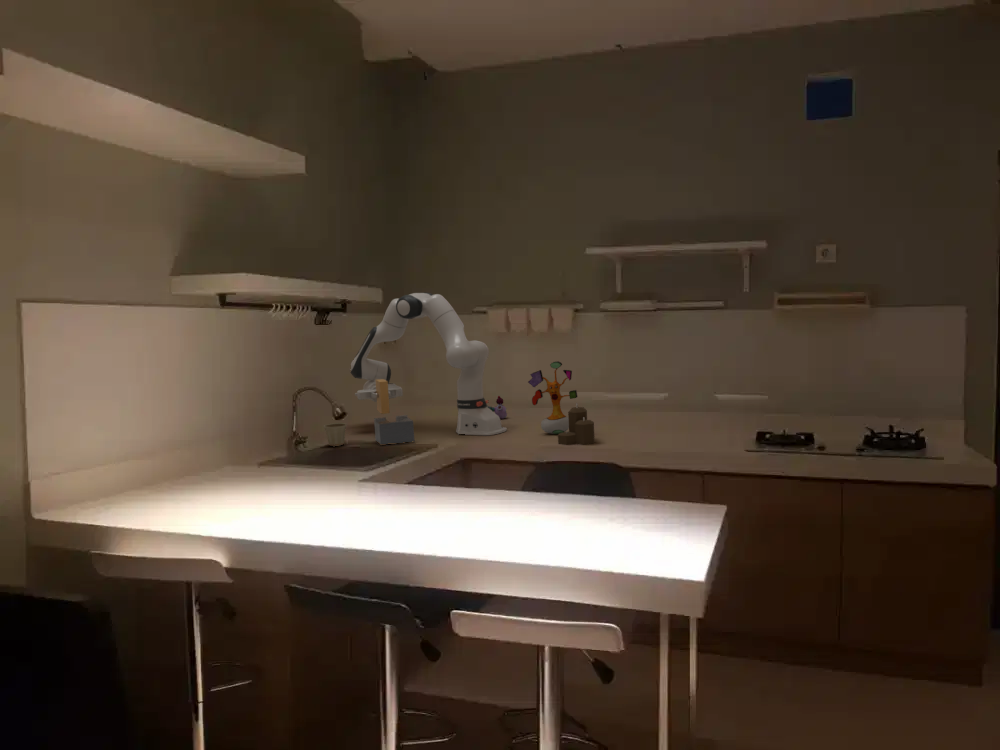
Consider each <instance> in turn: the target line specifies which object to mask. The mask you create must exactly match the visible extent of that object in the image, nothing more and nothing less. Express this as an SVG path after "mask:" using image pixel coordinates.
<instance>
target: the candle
mask: <svg viewBox="0 0 1000 750" xmlns="http://www.w3.org/2000/svg"><path fill="white" fill-rule="evenodd" d="M567 413H568V416H567V417H568V418H569V429H568V431H565V432H563V433H559V434H557V439H558V440H557V441H558V442H557V443H558V445H562V446H570V445H581V446H587V445H594V443H595V425H594V424H595V422H594V421H593V420H592V419H588V410H587V409H586V408H585V407H583V406H579V404H578V402H576V404H575V407H571V408H570V410H569V411H568V412H567Z"/></svg>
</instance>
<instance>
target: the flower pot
mask: <svg viewBox="0 0 1000 750" xmlns="http://www.w3.org/2000/svg"><path fill="white" fill-rule="evenodd" d="M323 428H324V430H325V433H326V438H327V443H328V445H329V444H334V445H335V444H341V443H344V444H345V438H346V437H345V436H346V429H347V423H344V422H343V423H339V422H338V423H329V424H324V425H323Z"/></svg>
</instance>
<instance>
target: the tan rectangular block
mask: <svg viewBox="0 0 1000 750" xmlns="http://www.w3.org/2000/svg"><path fill="white" fill-rule="evenodd" d="M376 391H377V392H376V393H378V394H379V398H377V402H376V405H377V406H376V407H377V413H380V414H381V415H385V414H391V412H390V399H389V394H388V381H386V380H384V379H378V380H376Z"/></svg>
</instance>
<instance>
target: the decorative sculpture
mask: <svg viewBox="0 0 1000 750" xmlns="http://www.w3.org/2000/svg"><path fill="white" fill-rule="evenodd" d="M562 365H563V363H562V362H560V361H559V360H558V361H557V360H556V361H553V362H551V363H550V364H549V366H550V368H552V369H555V370H554V381H552V382H551V381H549V380H548V379H547V378H546V377H544V376H543V372H542V370H541V369H540V370H538V371H537V370H536V371H535V372H532V373H530V374H529V375H530V377H531V379H529V380H528V381H527V383H528V384H529V385H531V387H532V388H536V386H538V385H539V384H541V383H542V382H543V381H545V382H546V389H545V390H544V391H542V390H541V389H537V390H536V391H535V392H534V395H533V396H532V398H531V403H532V405H533V406H537V404H538V402H539V399H542V398H543V397H544V395H543V394H545V393H548V394H549V396H550V400H551V404H552V411H551V414H550V415H549V416H548V417H546V418H544V419H542V420H541V422H540V426H541V427H540V428H541V430H542V431H544V432H545V433H547V434H551V435H559V433H563V432H568V431H569V418H568V416H567V415H565V414H564V413H563V411H562V408H561V400H562V399H563V398H564V397H569V399H577V398H578V391H577V389H575V390H570V391H568V394H564V395H562V394H561V392H560V391H561V389H560V388H561V387H562V385H564V384H565V381H566V380H567V379H568V381H569V382H570V381H571V380H572V377H573V376H572V375H573V374H572V372H573V370H570V369H563V370H562V371H563V372H564V374H565V375H566V377H565V378H564V379H563V381H562V383H560V382H558V380H557V370H558V369H559V368H560V367H562Z"/></svg>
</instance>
